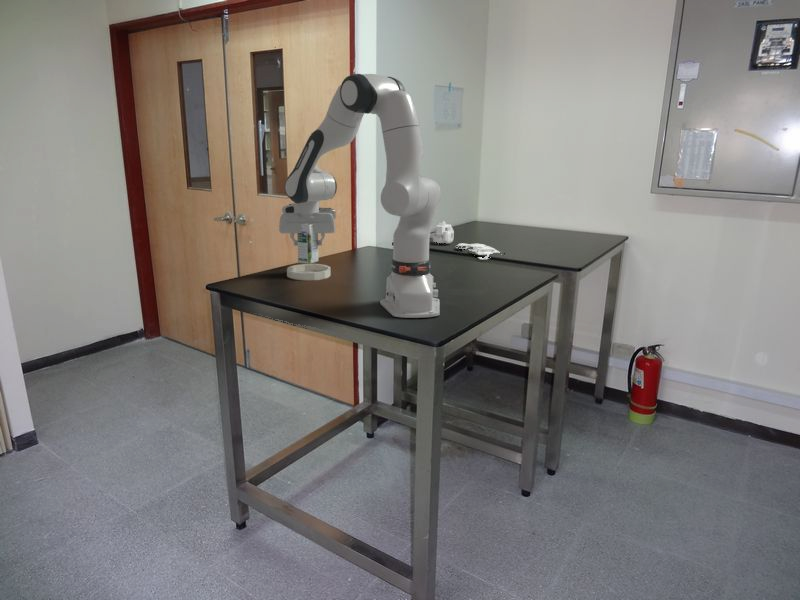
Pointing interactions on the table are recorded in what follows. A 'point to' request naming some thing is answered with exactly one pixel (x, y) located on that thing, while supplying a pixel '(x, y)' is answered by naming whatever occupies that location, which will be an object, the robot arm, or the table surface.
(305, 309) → the table surface
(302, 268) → the round bowl
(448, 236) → the mechanical part
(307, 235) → the syrup box
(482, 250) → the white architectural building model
